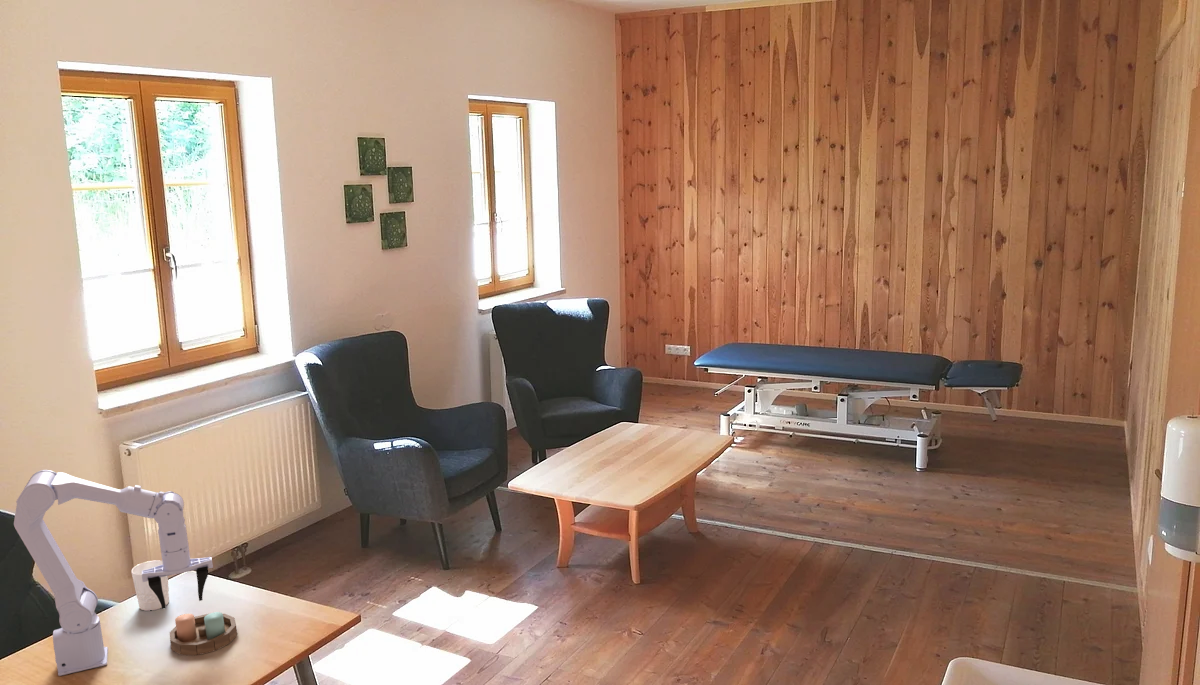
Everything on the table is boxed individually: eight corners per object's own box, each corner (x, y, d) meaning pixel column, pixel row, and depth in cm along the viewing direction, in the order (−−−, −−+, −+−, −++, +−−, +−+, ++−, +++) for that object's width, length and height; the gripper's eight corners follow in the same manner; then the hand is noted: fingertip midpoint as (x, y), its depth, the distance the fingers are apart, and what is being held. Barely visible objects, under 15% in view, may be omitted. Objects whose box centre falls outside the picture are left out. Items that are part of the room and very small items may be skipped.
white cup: (158, 613, 233) (152, 575, 231) (129, 611, 235) (124, 573, 233) (178, 597, 241) (173, 561, 239) (150, 595, 243) (145, 559, 240)
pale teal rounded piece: (207, 642, 217) (205, 622, 216) (206, 634, 221) (203, 614, 219) (226, 637, 219) (223, 618, 218) (224, 630, 222) (221, 610, 221)
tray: (172, 661, 212) (170, 650, 211) (170, 632, 224) (168, 622, 224) (239, 644, 218) (238, 634, 217) (233, 617, 230) (232, 608, 230)
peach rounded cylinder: (179, 644, 217) (176, 624, 216) (176, 636, 220) (174, 616, 219) (198, 639, 219) (195, 619, 218) (195, 631, 222) (192, 611, 221)
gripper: (208, 533, 221) (215, 588, 224) (138, 547, 215) (146, 602, 218) (210, 545, 215) (217, 600, 218) (138, 559, 209) (147, 616, 212)
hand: (182, 602), depth 217 cm, fingers open, 7 cm apart
